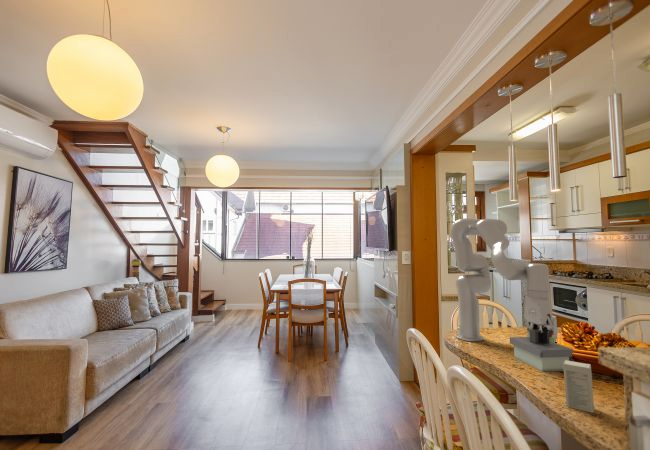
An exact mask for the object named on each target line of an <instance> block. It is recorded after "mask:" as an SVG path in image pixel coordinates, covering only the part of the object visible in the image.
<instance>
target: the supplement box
mask: <svg viewBox="0 0 650 450" xmlns="http://www.w3.org/2000/svg"><path fill="white" fill-rule="evenodd" d="M553 320H554V321H553V327H554V328H553V331H554V342H556V339H557V340H558V326H557V324H558V321H557V316H556V315H553Z"/></svg>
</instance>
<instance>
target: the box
mask: <svg viewBox="0 0 650 450" xmlns="http://www.w3.org/2000/svg"><path fill="white" fill-rule="evenodd" d="M513 352H514V353H513V354H514V355H513V356H514V358H515V359H517V360H518V361H521V362H522V363H524V364H526V365H529V366H531V367H532V368H534V369H537V370H538V371H540V372H544V373H545V372H564V366H563V363H564V361H565V360H568V361H570V357H544V358H541V357H539V356H537V355H535V354H532V353H530V352H528V351H526V350H523V349H521V348H519V347H517V346H514V345H513Z"/></svg>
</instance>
